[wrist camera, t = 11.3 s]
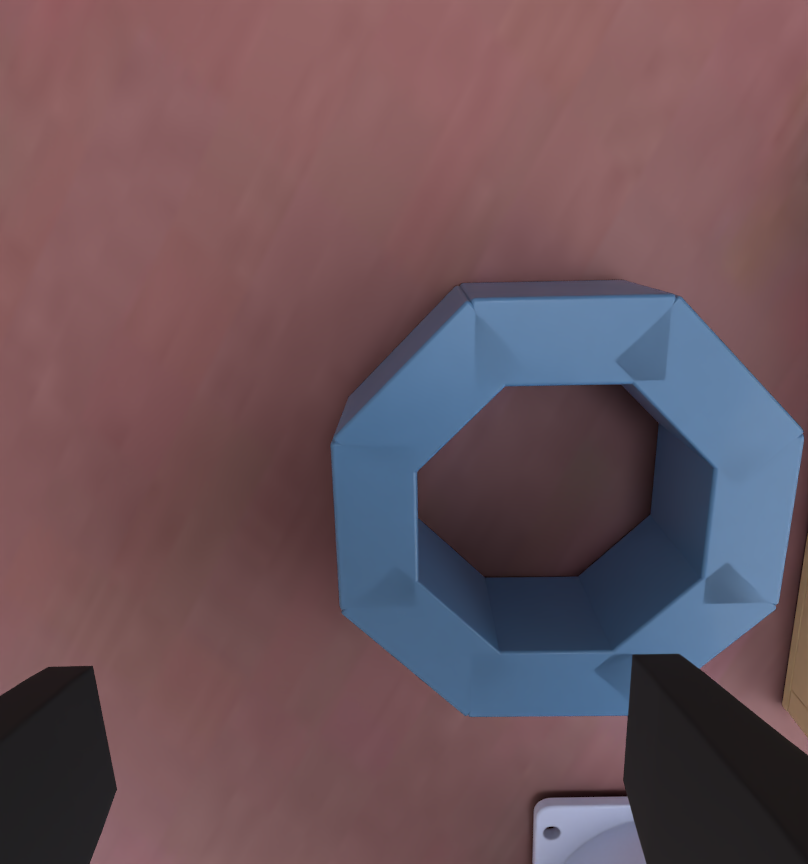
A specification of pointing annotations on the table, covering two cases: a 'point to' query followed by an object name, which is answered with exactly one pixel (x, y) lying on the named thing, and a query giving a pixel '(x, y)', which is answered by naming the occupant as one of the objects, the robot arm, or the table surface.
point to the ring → (621, 565)
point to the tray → (799, 658)
